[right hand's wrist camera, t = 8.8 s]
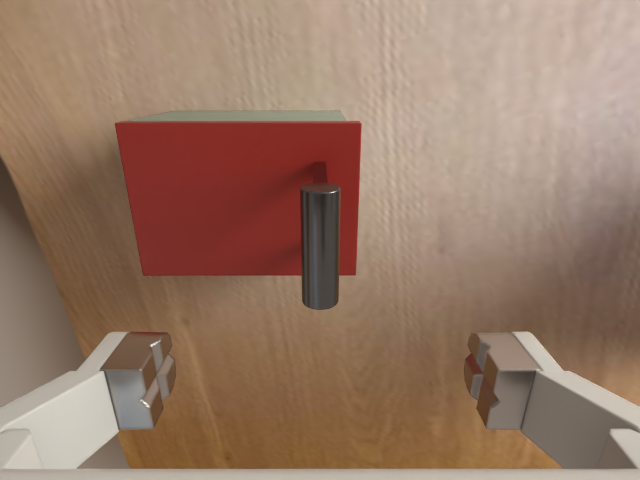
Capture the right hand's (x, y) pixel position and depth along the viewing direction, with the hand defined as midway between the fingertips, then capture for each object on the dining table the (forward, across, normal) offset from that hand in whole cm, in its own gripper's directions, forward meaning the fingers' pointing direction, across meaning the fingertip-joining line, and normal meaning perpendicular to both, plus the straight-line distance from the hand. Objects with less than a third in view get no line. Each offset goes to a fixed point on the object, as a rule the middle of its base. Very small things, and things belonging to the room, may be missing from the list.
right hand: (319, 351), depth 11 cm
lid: (+15, +5, 0) cm, 16 cm away
